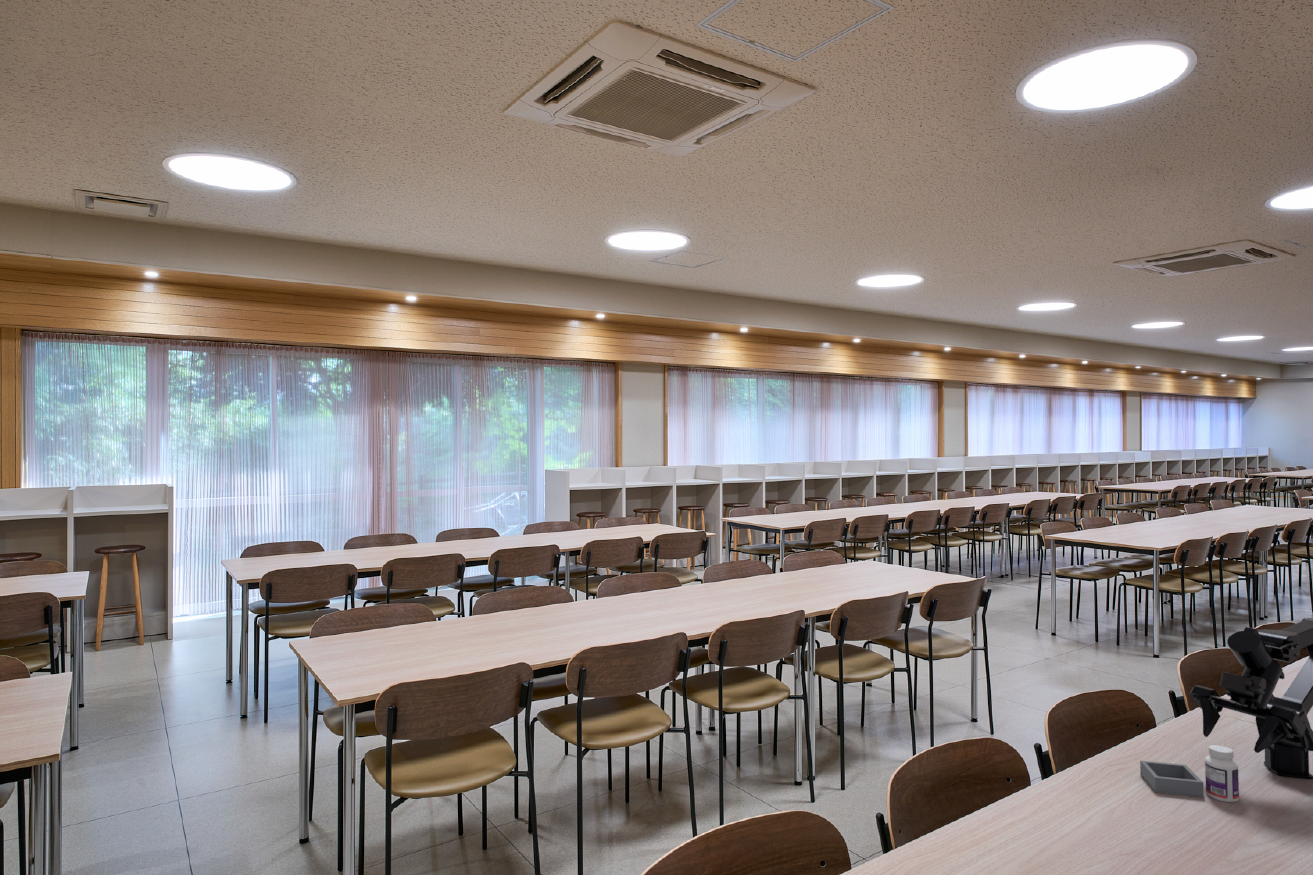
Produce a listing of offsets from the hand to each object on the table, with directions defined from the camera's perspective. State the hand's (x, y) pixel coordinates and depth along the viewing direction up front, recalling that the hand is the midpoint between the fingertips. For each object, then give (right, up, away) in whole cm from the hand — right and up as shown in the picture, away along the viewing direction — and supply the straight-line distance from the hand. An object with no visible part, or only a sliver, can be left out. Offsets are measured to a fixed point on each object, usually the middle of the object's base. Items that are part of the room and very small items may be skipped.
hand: (1229, 743), depth 151 cm
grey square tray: (-10, -10, +4) cm, 15 cm away
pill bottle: (-3, -10, -2) cm, 11 cm away
